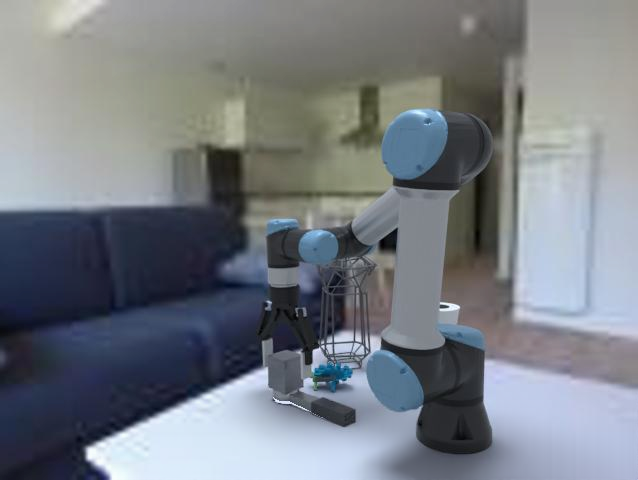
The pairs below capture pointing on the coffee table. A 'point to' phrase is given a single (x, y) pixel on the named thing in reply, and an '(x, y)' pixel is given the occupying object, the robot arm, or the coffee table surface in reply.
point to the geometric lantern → (367, 266)
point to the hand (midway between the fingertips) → (286, 371)
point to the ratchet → (320, 406)
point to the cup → (448, 313)
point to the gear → (331, 374)
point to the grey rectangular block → (284, 371)
